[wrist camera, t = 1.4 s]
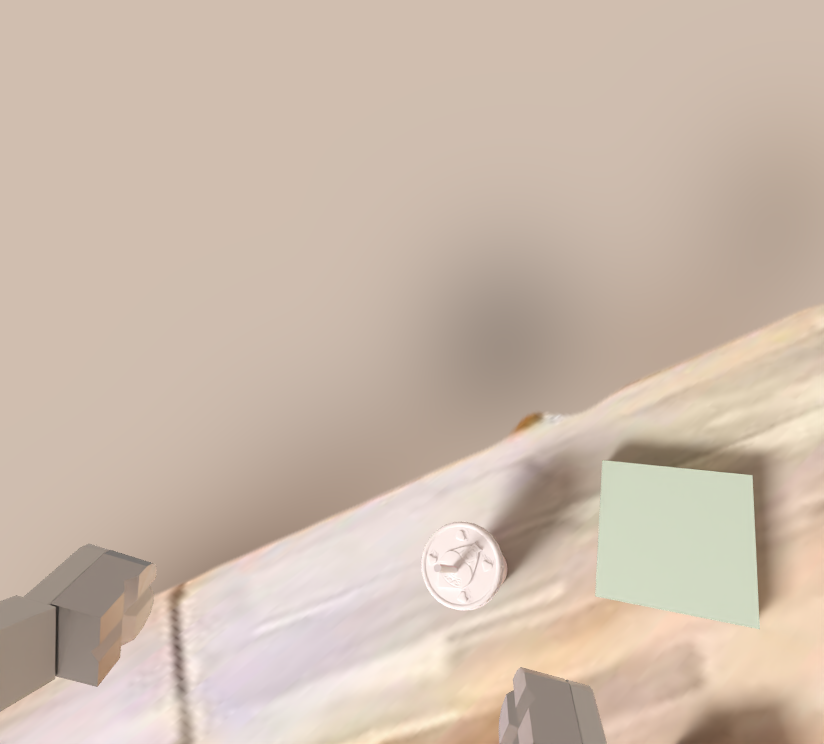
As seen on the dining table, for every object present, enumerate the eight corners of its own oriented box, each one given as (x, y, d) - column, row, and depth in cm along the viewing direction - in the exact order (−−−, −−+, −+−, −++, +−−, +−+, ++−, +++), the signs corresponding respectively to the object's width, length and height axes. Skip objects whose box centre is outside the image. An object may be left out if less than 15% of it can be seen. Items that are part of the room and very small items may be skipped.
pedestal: (743, 481, 42) (752, 475, 39) (749, 626, 38) (759, 629, 35) (602, 467, 46) (602, 460, 43) (596, 595, 42) (595, 596, 40)
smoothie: (440, 565, 48) (382, 558, 36) (487, 517, 48) (445, 494, 36) (487, 622, 44) (440, 636, 32) (537, 570, 45) (509, 565, 32)
